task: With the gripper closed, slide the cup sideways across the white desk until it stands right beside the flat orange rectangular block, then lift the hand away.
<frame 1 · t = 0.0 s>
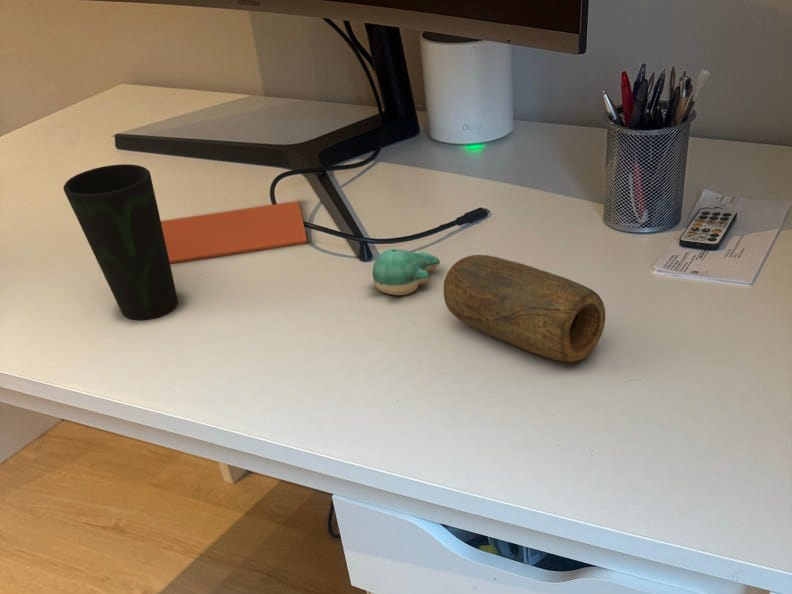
wooden vase: (523, 342, 80), on the table
flat orange rectangular block: (214, 235, 101), on the table
whale figurine: (408, 285, 90), on the table
cup: (151, 308, 90), on the table
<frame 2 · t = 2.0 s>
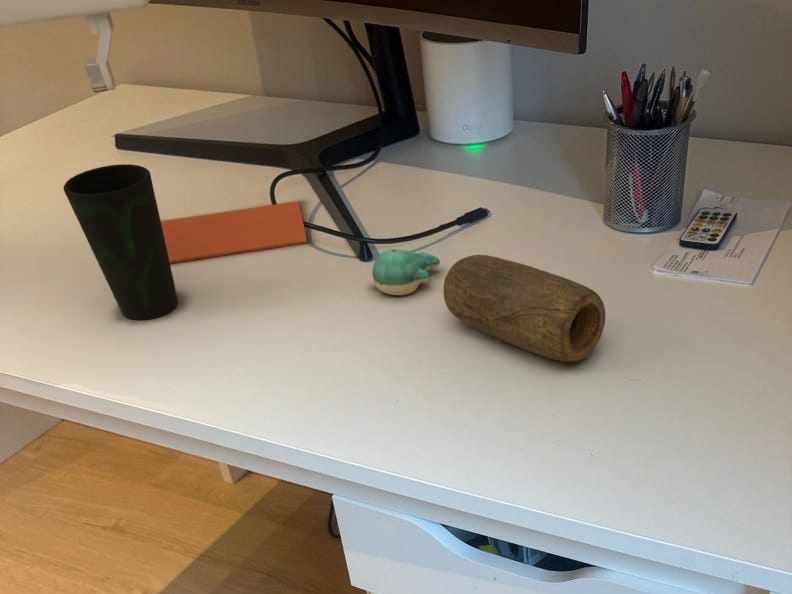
hand: (38, 99, 65), 22 cm above the table, tool pointing down, fingers open, 8 cm apart
nothing on the table moved.
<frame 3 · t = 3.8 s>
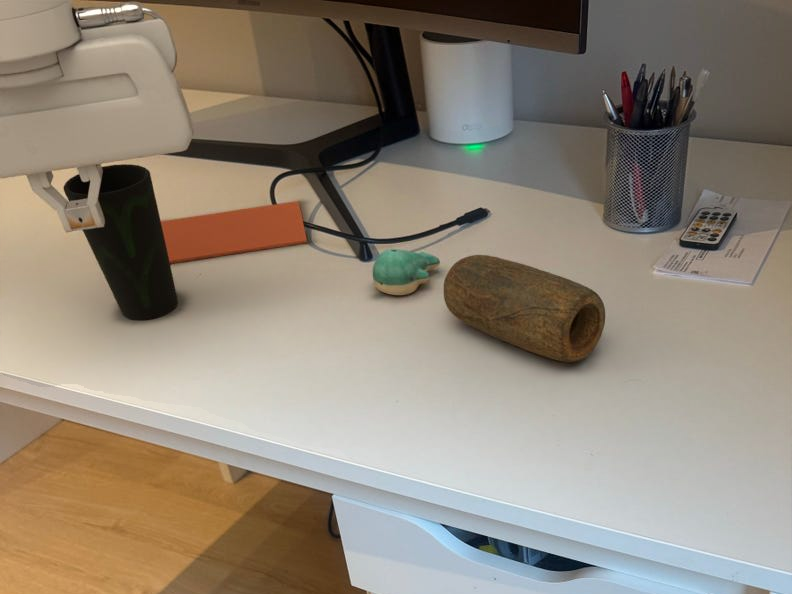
hand: (86, 227, 71), 13 cm above the table, tool pointing down, fingers closed
nothing on the table moved.
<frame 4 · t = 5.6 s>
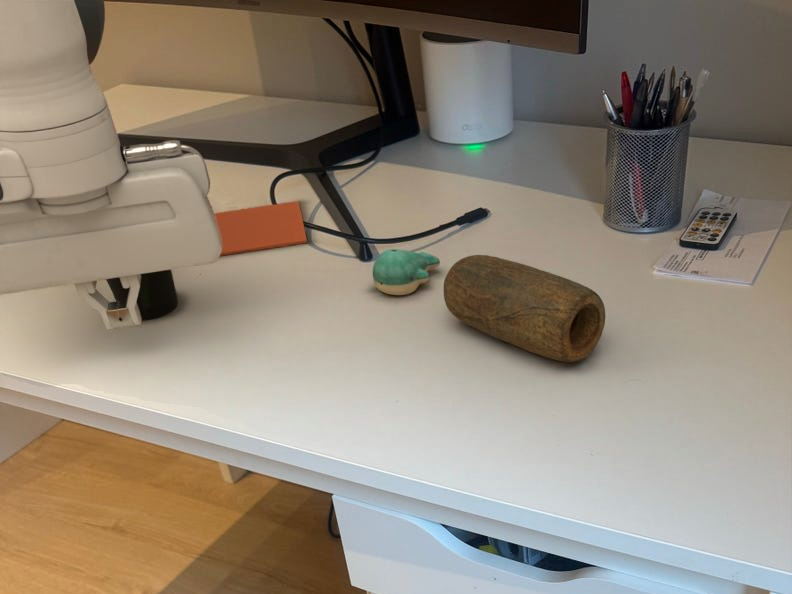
hand: (124, 324, 79), 4 cm above the table, tool pointing down, fingers closed
nothing on the table moved.
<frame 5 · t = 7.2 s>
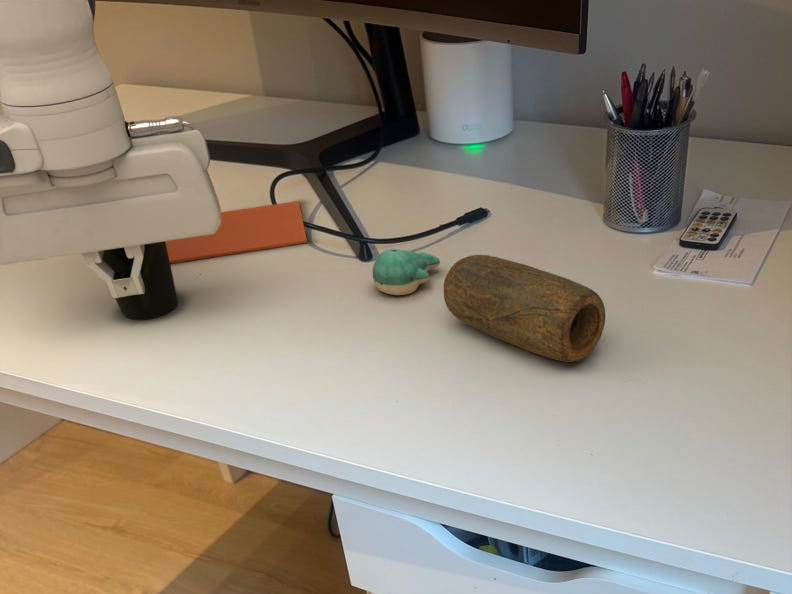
hand: (129, 293, 84), 4 cm above the table, tool pointing down, fingers closed, pressing on cup
cup: (150, 308, 90), on the table, touching gripper
everything else where it was.
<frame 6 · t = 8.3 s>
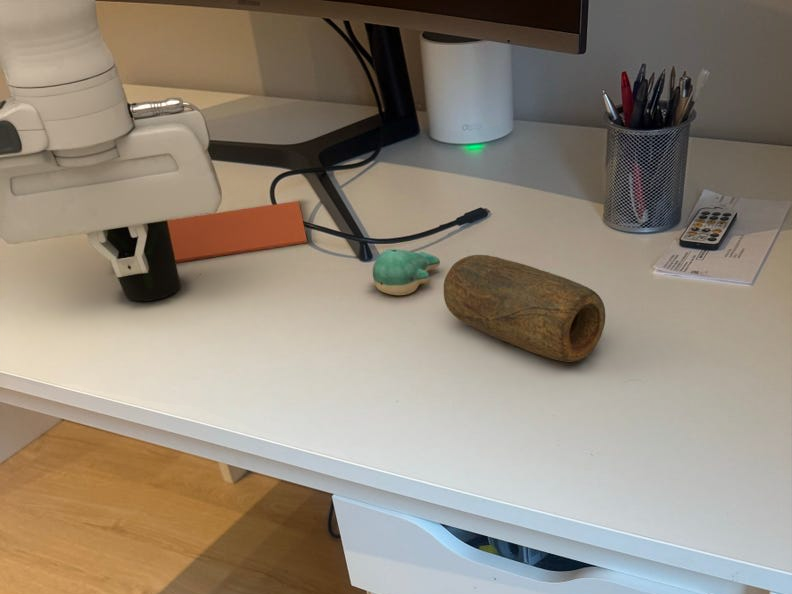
hand: (133, 272, 86), 4 cm above the table, tool pointing down, fingers closed, pressing on cup
cup: (153, 291, 92), on the table, touching gripper
everything else where it was.
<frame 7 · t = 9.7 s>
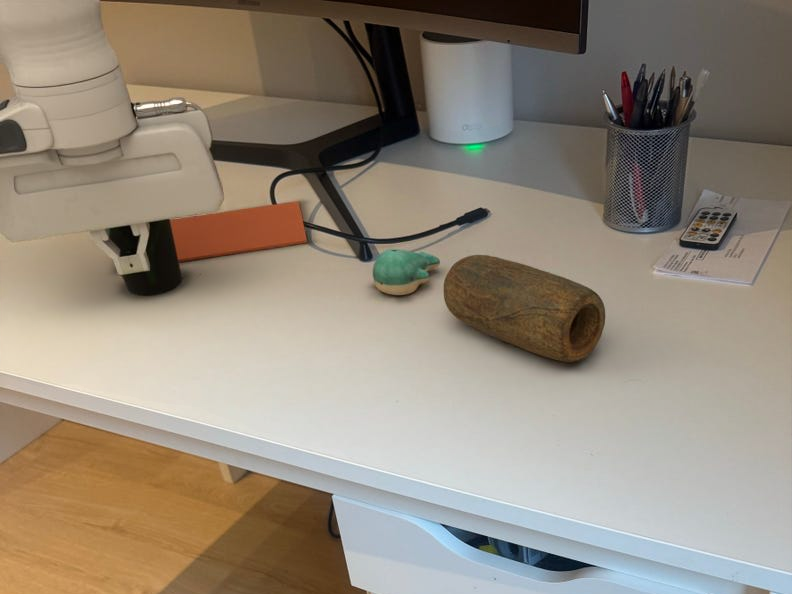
hand: (134, 270, 87), 4 cm above the table, tool pointing down, fingers closed
cup: (155, 285, 94), on the table
everything else where it was.
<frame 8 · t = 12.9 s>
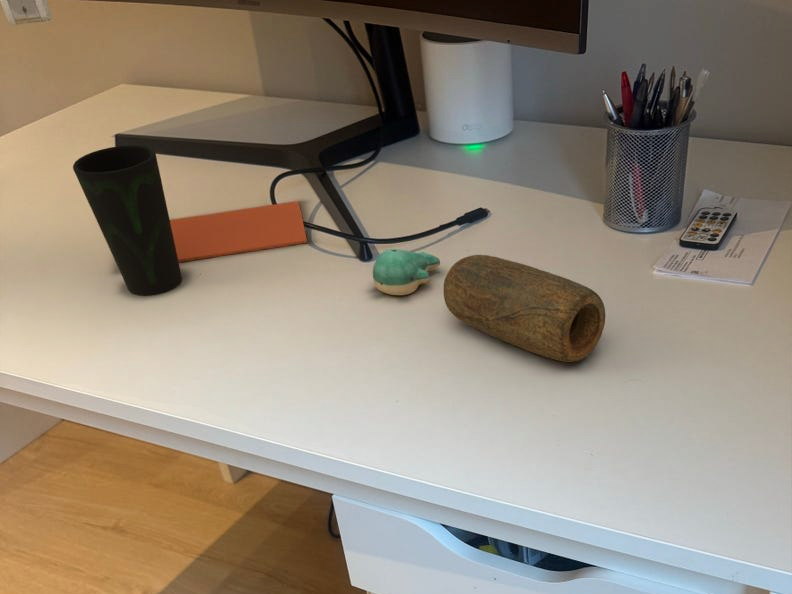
hand: (31, 21, 68), 25 cm above the table, tool pointing down, fingers closed
nothing on the table moved.
at the end: cup inside the target area on the table beside the flat orange rectangular block (1.1 cm from its centre), on the table; cup tilted 0°; cup moved 5.5 cm from its start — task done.
